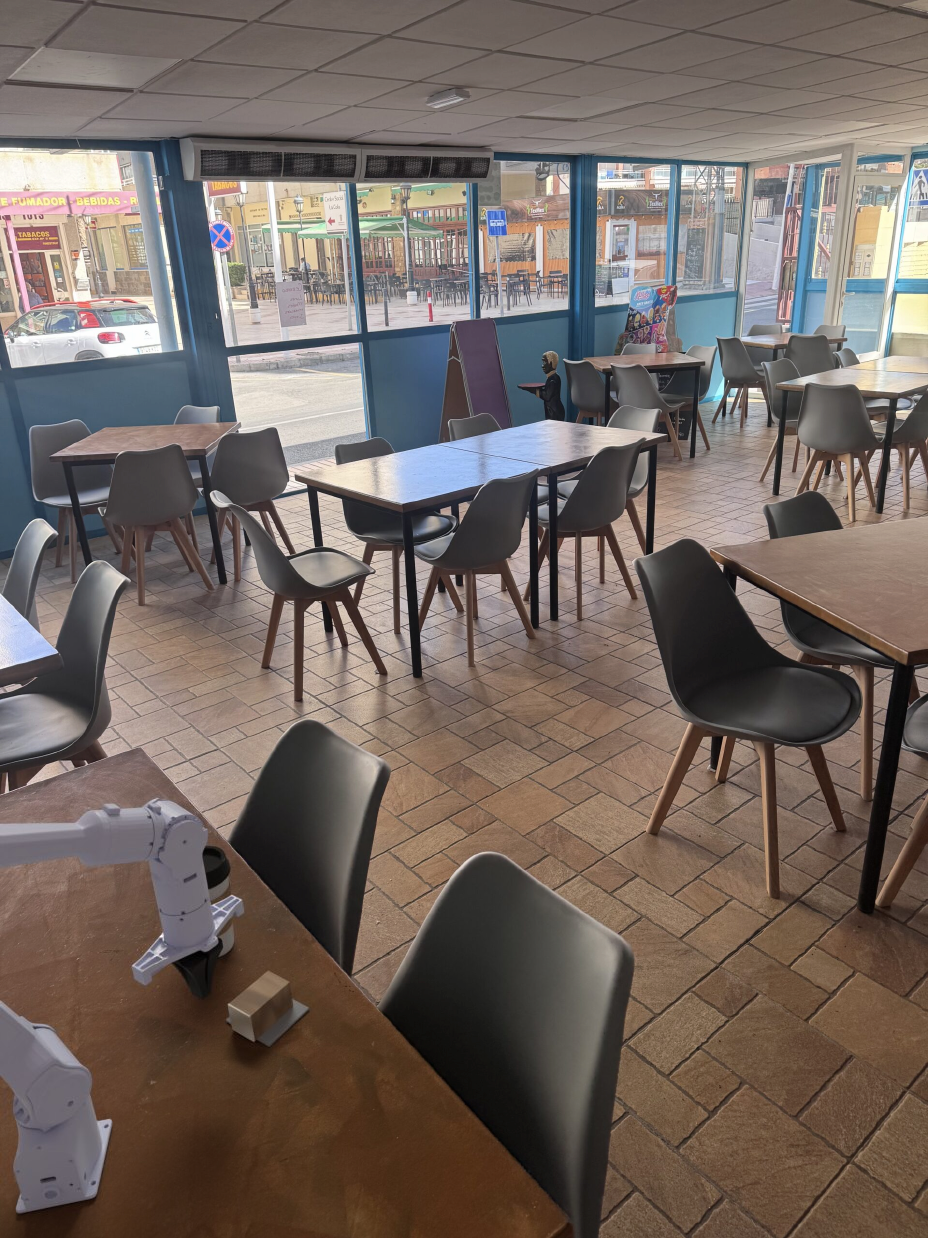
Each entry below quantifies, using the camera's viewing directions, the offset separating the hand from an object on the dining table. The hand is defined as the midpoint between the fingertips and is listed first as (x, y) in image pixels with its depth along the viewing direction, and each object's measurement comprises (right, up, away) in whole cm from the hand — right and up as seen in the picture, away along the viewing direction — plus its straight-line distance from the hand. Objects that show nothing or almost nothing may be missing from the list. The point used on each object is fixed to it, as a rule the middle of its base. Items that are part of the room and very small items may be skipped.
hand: (201, 993), depth 106 cm
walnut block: (+3, -6, +5) cm, 9 cm away
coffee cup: (-5, -3, +23) cm, 23 cm away
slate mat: (+6, -7, +9) cm, 13 cm away
